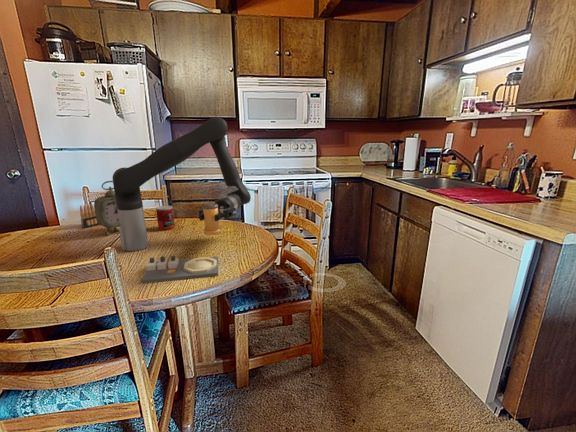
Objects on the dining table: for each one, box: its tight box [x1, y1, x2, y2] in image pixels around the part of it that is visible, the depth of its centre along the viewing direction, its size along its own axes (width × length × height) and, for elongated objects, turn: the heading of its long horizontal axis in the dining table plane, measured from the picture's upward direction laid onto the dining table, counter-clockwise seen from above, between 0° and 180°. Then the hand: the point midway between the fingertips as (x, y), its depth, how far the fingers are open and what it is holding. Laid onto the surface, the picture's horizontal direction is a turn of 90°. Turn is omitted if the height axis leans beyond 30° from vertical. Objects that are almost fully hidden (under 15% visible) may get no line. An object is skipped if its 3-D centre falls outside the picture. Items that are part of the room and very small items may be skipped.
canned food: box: [155, 205, 176, 231], centre depth 149 cm, size 8×8×11 cm
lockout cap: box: [202, 202, 222, 236], centre depth 105 cm, size 6×6×10 cm
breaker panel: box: [141, 255, 219, 284], centre depth 104 cm, size 24×14×4 cm, turn 102°
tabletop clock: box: [93, 180, 120, 236], centre depth 142 cm, size 14×9×25 cm, turn 143°
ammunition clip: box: [79, 203, 101, 229], centre depth 153 cm, size 11×2×12 cm, turn 152°
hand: (208, 218), depth 102 cm, fingers closed on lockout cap, 5 cm apart
